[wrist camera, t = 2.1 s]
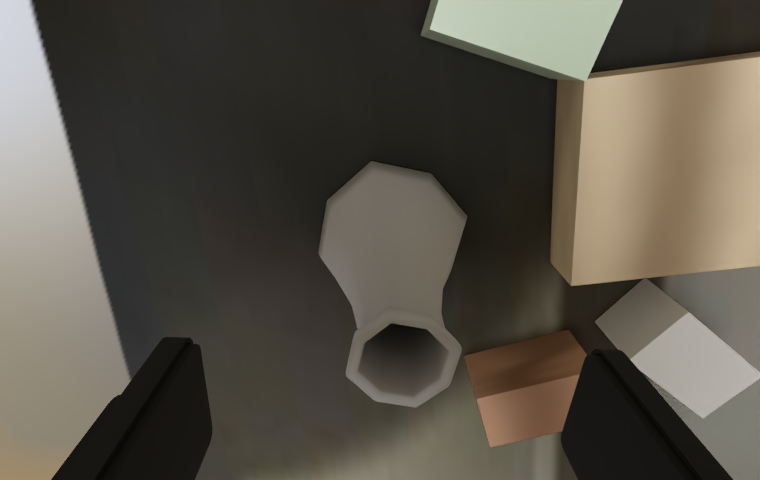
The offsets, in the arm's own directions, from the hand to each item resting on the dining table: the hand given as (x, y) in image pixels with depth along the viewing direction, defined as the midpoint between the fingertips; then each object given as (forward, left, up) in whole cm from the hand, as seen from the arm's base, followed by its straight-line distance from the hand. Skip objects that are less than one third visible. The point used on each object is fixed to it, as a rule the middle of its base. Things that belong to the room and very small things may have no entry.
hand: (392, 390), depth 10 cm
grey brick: (-15, +5, -12) cm, 20 cm away
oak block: (-12, -4, -12) cm, 18 cm away
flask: (0, 0, -12) cm, 12 cm away
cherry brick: (-8, +8, -12) cm, 17 cm away
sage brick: (-4, -10, -12) cm, 16 cm away
